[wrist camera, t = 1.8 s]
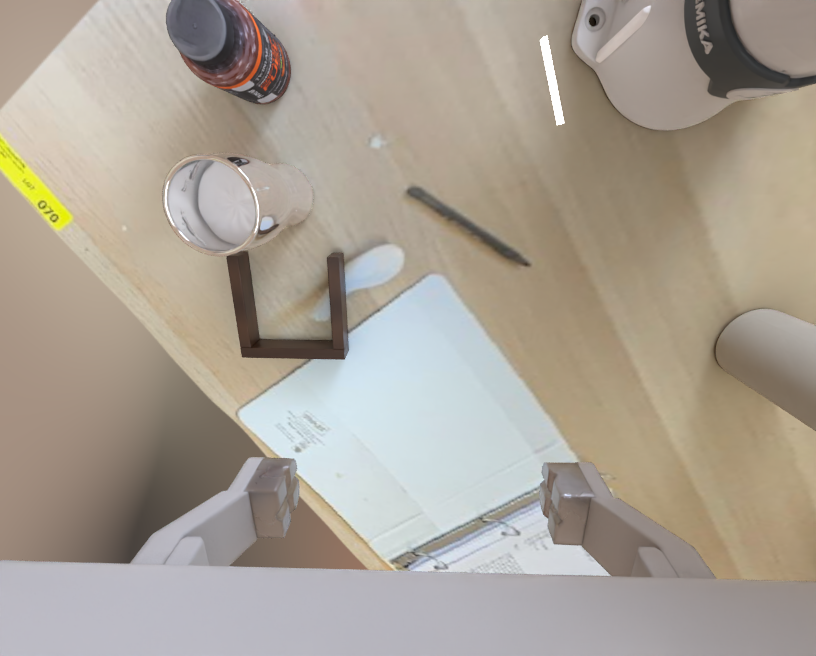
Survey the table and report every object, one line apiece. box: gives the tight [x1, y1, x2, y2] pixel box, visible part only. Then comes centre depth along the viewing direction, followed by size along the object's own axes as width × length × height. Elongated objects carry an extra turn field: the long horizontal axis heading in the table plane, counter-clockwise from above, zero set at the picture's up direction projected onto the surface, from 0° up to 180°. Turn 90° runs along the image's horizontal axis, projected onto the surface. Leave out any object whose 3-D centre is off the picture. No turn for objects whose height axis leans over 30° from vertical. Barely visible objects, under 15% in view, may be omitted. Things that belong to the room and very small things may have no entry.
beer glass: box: [162, 153, 314, 256], centre depth 34 cm, size 7×7×15 cm
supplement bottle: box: [166, 0, 291, 104], centre depth 32 cm, size 6×6×11 cm
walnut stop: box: [227, 252, 349, 359], centre depth 44 cm, size 11×11×2 cm
